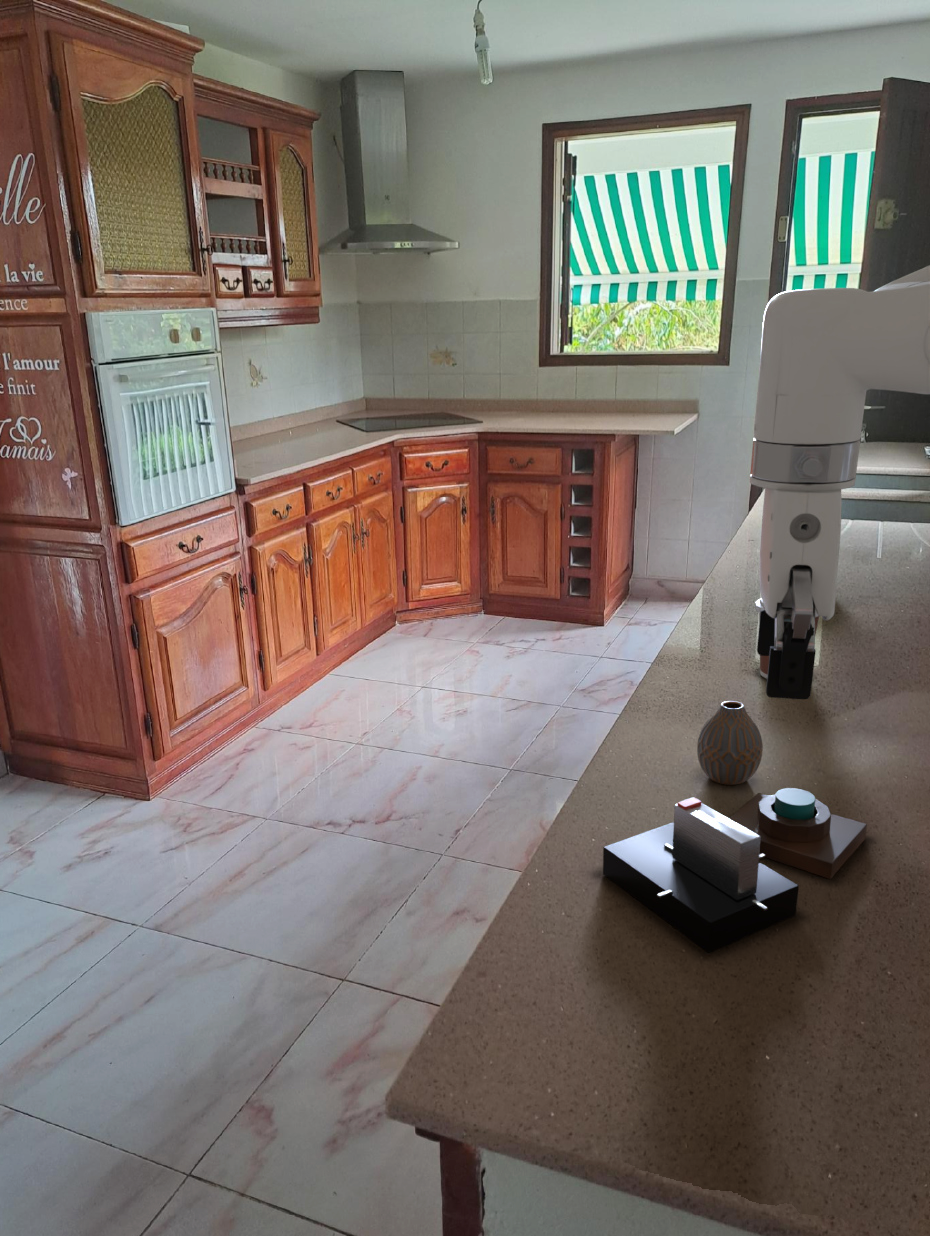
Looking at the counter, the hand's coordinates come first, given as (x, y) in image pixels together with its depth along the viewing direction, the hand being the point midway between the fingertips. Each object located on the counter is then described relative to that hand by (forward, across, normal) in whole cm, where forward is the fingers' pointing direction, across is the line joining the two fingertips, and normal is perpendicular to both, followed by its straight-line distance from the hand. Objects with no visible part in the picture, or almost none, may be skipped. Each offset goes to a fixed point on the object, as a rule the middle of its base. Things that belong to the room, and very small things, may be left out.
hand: (781, 675), depth 78 cm
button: (+18, +10, -4) cm, 21 cm away
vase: (+21, +23, +2) cm, 32 cm away
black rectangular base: (+21, -1, +6) cm, 22 cm away
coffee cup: (+21, +57, -7) cm, 61 cm away
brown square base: (+21, +10, -4) cm, 24 cm away
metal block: (+18, -2, +4) cm, 19 cm away
